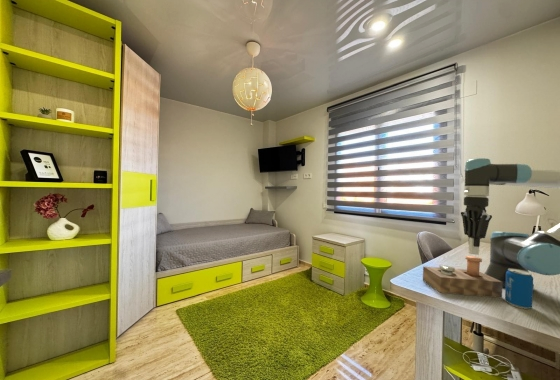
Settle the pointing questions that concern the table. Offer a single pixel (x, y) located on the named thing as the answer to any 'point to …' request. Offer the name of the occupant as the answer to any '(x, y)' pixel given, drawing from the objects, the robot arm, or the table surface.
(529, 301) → the beverage can
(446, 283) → the socket block
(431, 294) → the table surface
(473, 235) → the robot arm
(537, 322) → the table surface
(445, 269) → the grey plug
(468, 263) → the terracotta plug
